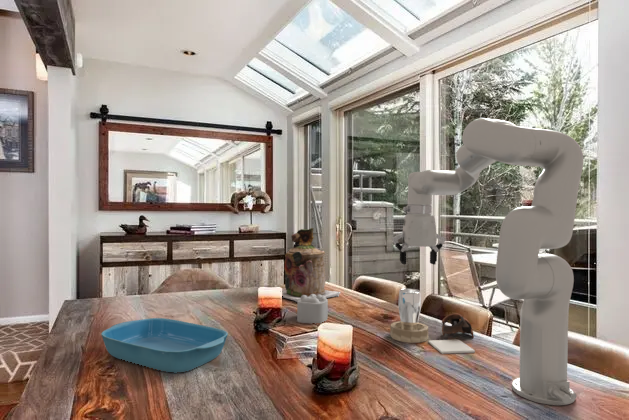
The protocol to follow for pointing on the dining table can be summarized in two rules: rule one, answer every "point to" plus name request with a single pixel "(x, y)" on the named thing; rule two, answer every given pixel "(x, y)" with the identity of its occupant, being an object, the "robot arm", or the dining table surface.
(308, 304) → the gray box with bumps
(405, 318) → the beer glass
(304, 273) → the cookie jar
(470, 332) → the dark brown arch
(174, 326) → the casserole dish
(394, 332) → the collar
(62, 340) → the dining table surface
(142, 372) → the dining table surface
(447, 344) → the coaster
